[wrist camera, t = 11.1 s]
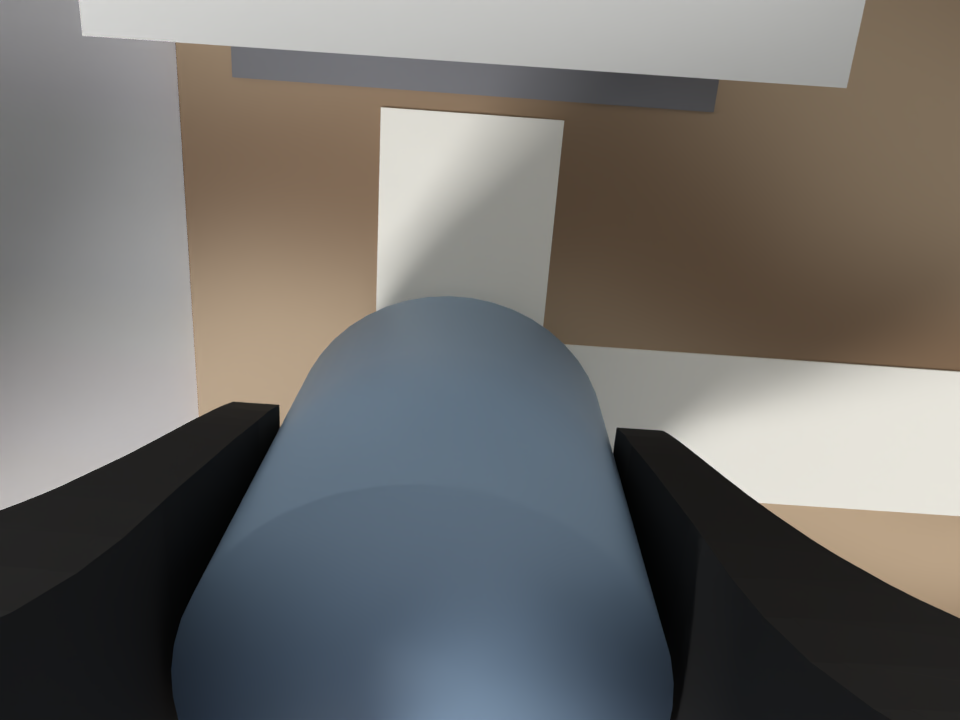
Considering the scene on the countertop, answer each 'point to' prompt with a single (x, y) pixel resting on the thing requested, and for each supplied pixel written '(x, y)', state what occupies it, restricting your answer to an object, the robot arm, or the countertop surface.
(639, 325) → the board
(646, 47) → the grey block
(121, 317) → the countertop surface
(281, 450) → the blue cylinder
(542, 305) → the letter T
